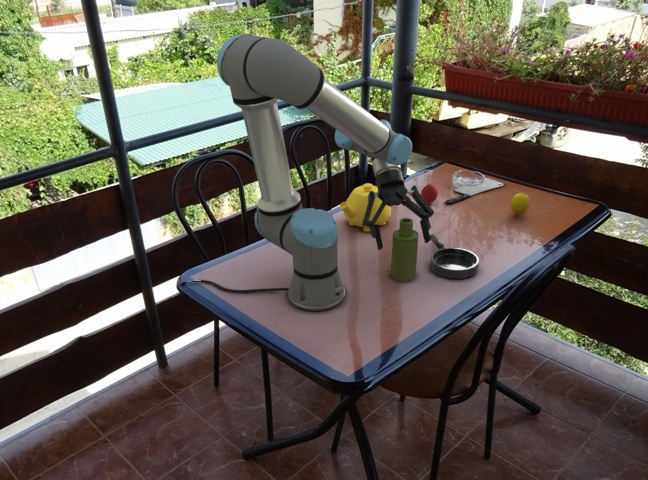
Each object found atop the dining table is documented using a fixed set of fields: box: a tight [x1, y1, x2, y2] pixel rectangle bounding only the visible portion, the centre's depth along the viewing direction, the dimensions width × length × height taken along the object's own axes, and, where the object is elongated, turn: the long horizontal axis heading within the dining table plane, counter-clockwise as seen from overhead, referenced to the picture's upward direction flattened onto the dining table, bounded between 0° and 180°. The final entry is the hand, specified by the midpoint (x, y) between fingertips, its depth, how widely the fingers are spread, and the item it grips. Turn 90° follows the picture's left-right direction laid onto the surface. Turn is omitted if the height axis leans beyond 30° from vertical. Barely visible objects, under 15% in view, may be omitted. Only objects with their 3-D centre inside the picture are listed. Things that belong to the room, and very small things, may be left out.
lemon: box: [510, 192, 530, 216], centre depth 184 cm, size 6×6×8 cm
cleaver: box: [445, 177, 504, 205], centre depth 205 cm, size 29×1×10 cm
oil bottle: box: [390, 217, 420, 283], centre depth 153 cm, size 7×7×17 cm
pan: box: [429, 247, 480, 280], centre depth 158 cm, size 13×13×3 cm
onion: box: [420, 181, 439, 204], centre depth 196 cm, size 6×6×8 cm
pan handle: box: [430, 233, 447, 250], centre depth 167 cm, size 2×10×2 cm, turn 10°
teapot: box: [339, 182, 392, 232], centre depth 182 cm, size 20×16×14 cm
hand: (404, 245), depth 153 cm, fingers open, 13 cm apart
